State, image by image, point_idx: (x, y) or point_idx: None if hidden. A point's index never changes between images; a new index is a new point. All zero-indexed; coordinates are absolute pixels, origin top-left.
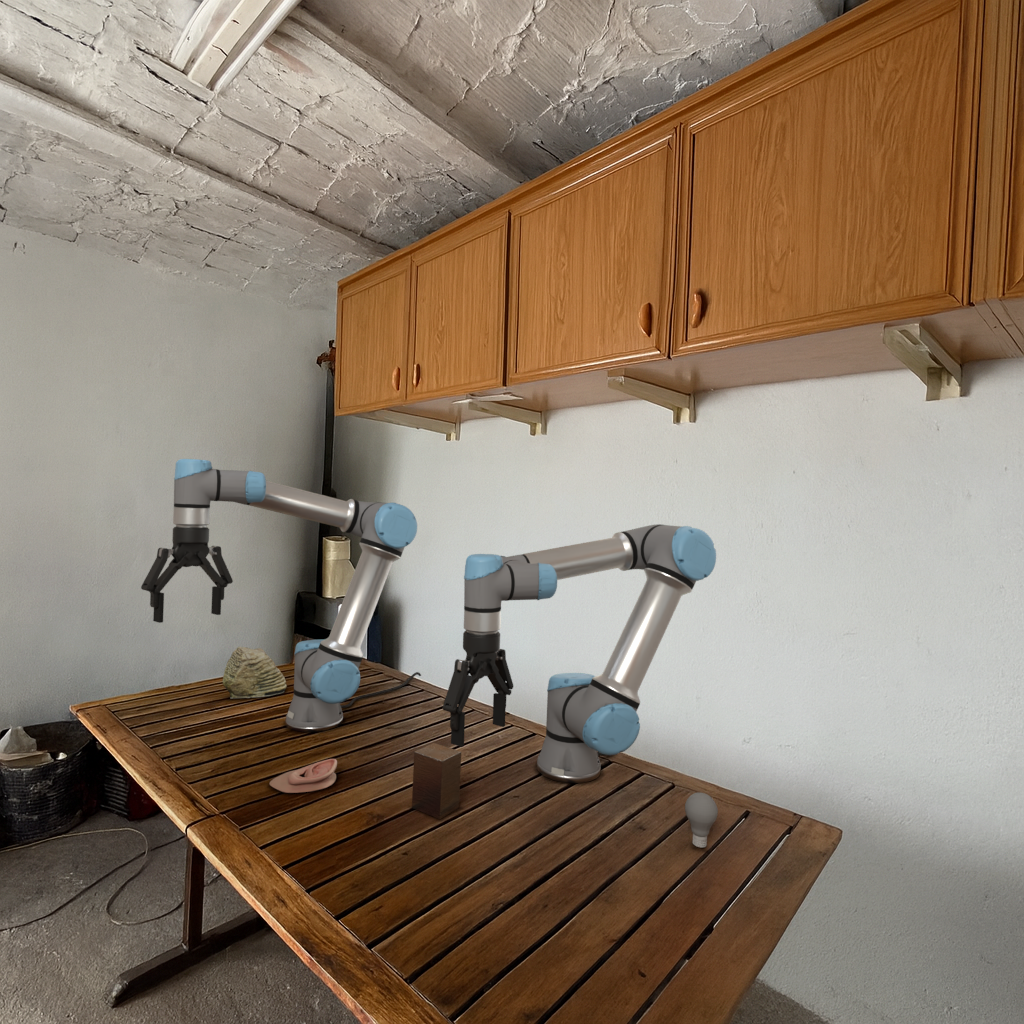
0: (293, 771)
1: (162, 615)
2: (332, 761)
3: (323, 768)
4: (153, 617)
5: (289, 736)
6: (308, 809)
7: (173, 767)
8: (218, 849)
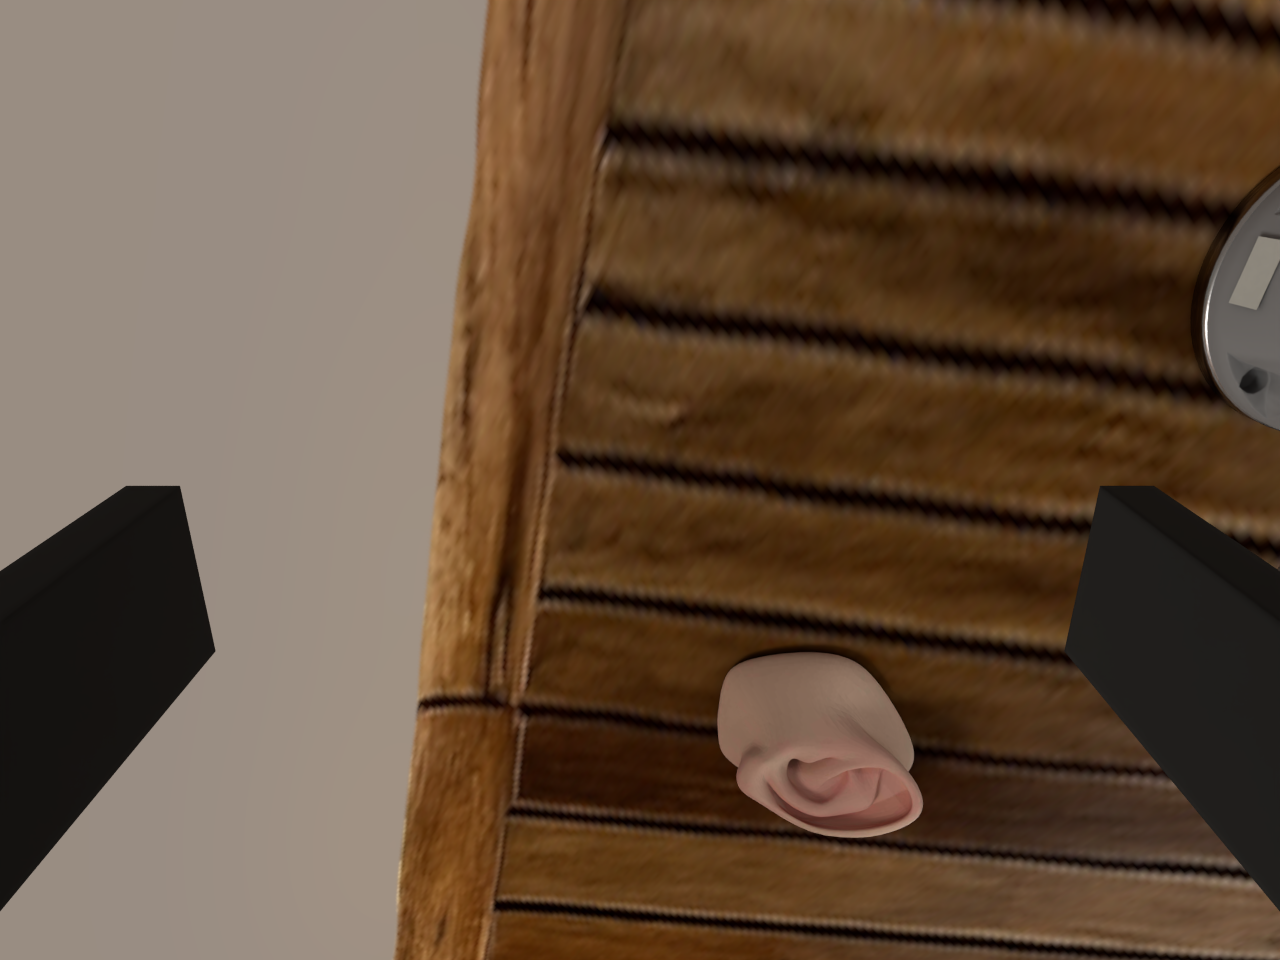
0: (791, 739)
1: (149, 715)
2: (911, 800)
3: (866, 793)
4: (91, 512)
5: (1121, 347)
6: (698, 852)
7: (591, 270)
8: (420, 847)
